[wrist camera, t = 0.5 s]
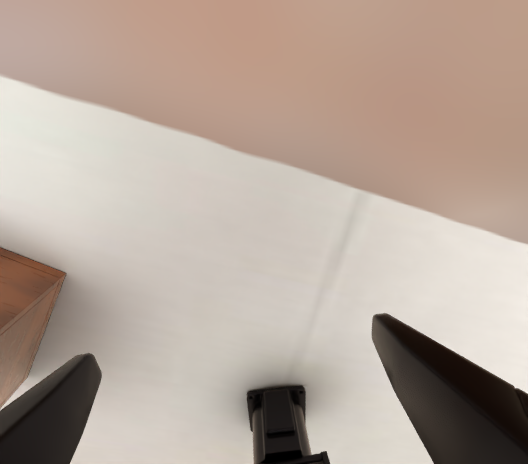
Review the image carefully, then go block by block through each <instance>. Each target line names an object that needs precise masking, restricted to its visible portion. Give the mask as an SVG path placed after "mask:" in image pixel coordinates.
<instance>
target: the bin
mask: <svg viewBox="0 0 528 464" xmlns="http://www.w3.org/2000/svg"><path fill="white" fill-rule="evenodd" d="M65 275H66V273H64V272H61V271H59V270H56V269H54V268H51V267H49V266H46V265H43V264H41V263H38V262H36V261H33V260H31V259H28V258H25V257H23V256H20V255H18V254H15V253H13V252H10V251H8V250H5V249H2V248H0V408H1V407H2V406H3V405H4V404H5V403H6V401H7V400H8V399H9V398H10V397H11V396H12V394H13V393H14V392H15V391H16V390H17V389H18V387H19V386H20V385H21V384H22V383H23V382H24V380H25V379H26V378H27V377H28V374H29V371H30V369H31V366H32V363H33V361H34V358H35V355H36V353H37V350H38V347H39V345H40V342H41V339H42V337H43V334H44V331H45V329H46V326H47V323H48V321H49V318H50V315H51V313H52V310H53V307H54V305H55V302H56V299H57V297H58V294H59V291H60V289H61V286H62V283H63V281H64V278H65Z"/></svg>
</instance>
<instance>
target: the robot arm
mask: <svg viewBox="0 0 528 464" xmlns="http://www.w3.org/2000/svg"><path fill="white" fill-rule="evenodd" d="M372 340H373V343H374V345H375V347H376V350H377V352H378V354H379V357H380V359H381V361H382V364H383V366H384V368H385V371H386V373H387V376H388V378H389V380H390V382H391V385H392V387H393V389H394V391H395V393H396V395H397V397H398V399H399V401H400V402H401V404H402V406H403V408H404V410H405V411H406V413H407V415H408V417H409V419H410V421H411V422H412V424H413V426H414V428H415V430H416V431H417V433H418V435H419V437H420V439H421V441H422V442H423V444H424V446H425V448H426V450H427V452H428V453H429V455H430V457H431V459H432V461H433V462H434V464H528V394H527V393H525V392H524V391H522V390H520V389H518V388H515V387H514V386H513V385H511V384H509V383H508V382H506V381H504V380H502V379H501V378H499V377H497V376H495V375H494V374H492V373H490V372H488V371H487V370H485V369H483V368H481V367H480V366H478V365H476V364H474V363H473V362H471V361H469V360H467V359H466V358H464V357H462V356H460V355H459V354H457V353H455V352H453V351H452V350H450V349H448V348H446V347H445V346H443V345H441V344H439V343H438V342H436V341H434V340H432V339H431V338H429V337H427V336H425V335H424V334H422V333H420V332H418V331H417V330H415V329H413V328H411V327H410V326H408V325H406V324H404V323H403V322H401V321H399V320H398V319H396V318H394V317H392V316H391V315H389V314H386V313H383V314H376V315H374V316H373V320H372ZM101 377H102V374H101V370H100V368H99V366H98V363H97V361H96V359H95V357H94V355H93V354H90V353H88V354H80V355H77V356H75V357H74V358H72V359H71V360H69V361H68V362H67V363H65V364H64V365H63V366H61V367H60V368H58V369H57V370H56V371H54V372H53V373H52V374H50V375H49V376H47V377H46V378H45V379H43V380H42V381H41V382H39V383H38V384H36V385H35V386H34V387H32V388H31V389H30V390H28V391H27V392H25V393H24V394H23V395H21V396H20V397H19V398H17V399H16V400H14V401H13V402H12V403H10V404H9V405H8V406H6V407H5V408H3V409H2V410H1V411H0V464H70V462H71V460H72V457H73V455H74V453H75V450H76V448H77V446H78V444H79V441H80V439H81V436H82V434H83V431H84V428H85V426H86V423H87V420H88V417H89V414H90V411H91V408H92V405H93V402H94V399H95V396H96V393H97V390H98V387H99V384H100V382H101ZM247 404H248V412H249V420H250V428H251V431H252V432H253V455H254V464H330V462H329V458H328V455H327V451H324V452H321V453H319V454H313V455H311V450H310V445H309V440H308V435H307V430H306V425H305V388H304V387H303V386H295V387H286V388H276V389H267V390H258V391H250V392H248V393H247Z"/></svg>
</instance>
